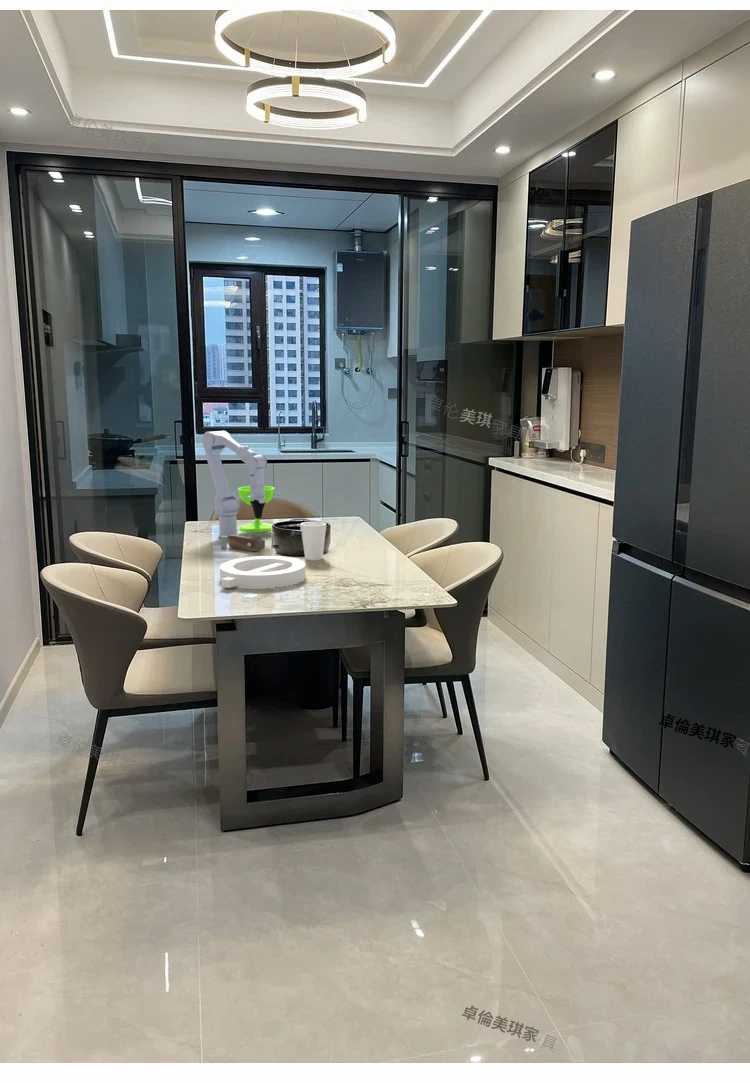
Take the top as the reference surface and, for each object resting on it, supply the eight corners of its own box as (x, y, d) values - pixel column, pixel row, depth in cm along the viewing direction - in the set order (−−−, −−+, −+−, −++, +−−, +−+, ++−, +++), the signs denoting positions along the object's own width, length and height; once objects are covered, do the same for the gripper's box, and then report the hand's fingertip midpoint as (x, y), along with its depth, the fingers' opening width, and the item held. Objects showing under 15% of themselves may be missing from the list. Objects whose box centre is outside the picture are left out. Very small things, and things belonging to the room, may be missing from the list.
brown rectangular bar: (231, 546, 312) (231, 534, 311) (258, 550, 305) (258, 538, 304) (226, 547, 310) (226, 535, 309) (253, 551, 302) (253, 539, 302)
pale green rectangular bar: (221, 547, 312) (220, 536, 311) (278, 545, 317) (277, 533, 316) (221, 548, 311) (220, 536, 310) (278, 545, 315) (278, 534, 314)
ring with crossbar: (220, 592, 248) (220, 577, 247) (220, 571, 275) (219, 557, 274) (310, 587, 253) (309, 573, 253) (300, 567, 280) (300, 554, 279)
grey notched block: (255, 545, 315) (254, 533, 314) (264, 546, 315) (264, 533, 314) (248, 549, 308) (248, 537, 307) (258, 550, 307) (258, 537, 306)
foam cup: (296, 557, 294) (295, 523, 291) (317, 554, 299) (316, 520, 297) (310, 562, 287) (309, 526, 284) (331, 559, 292) (331, 524, 289)
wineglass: (283, 527, 354) (282, 487, 350) (259, 533, 340) (258, 491, 337) (255, 524, 362) (254, 485, 358) (231, 529, 349) (230, 489, 345)
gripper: (243, 483, 325) (244, 516, 327) (251, 487, 311) (252, 521, 314) (260, 482, 327) (261, 515, 330) (269, 486, 314) (270, 520, 317)
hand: (258, 518), depth 322 cm, fingers closed
